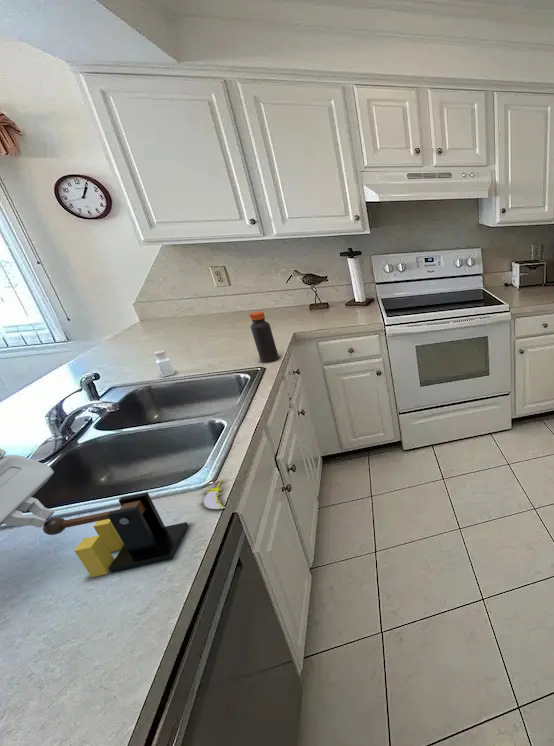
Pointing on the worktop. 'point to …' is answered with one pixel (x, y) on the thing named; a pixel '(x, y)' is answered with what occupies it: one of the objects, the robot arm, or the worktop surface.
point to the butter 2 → (95, 556)
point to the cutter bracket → (143, 535)
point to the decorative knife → (213, 497)
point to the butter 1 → (109, 535)
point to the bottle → (263, 337)
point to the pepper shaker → (164, 363)
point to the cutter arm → (83, 519)
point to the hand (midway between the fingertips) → (48, 519)
